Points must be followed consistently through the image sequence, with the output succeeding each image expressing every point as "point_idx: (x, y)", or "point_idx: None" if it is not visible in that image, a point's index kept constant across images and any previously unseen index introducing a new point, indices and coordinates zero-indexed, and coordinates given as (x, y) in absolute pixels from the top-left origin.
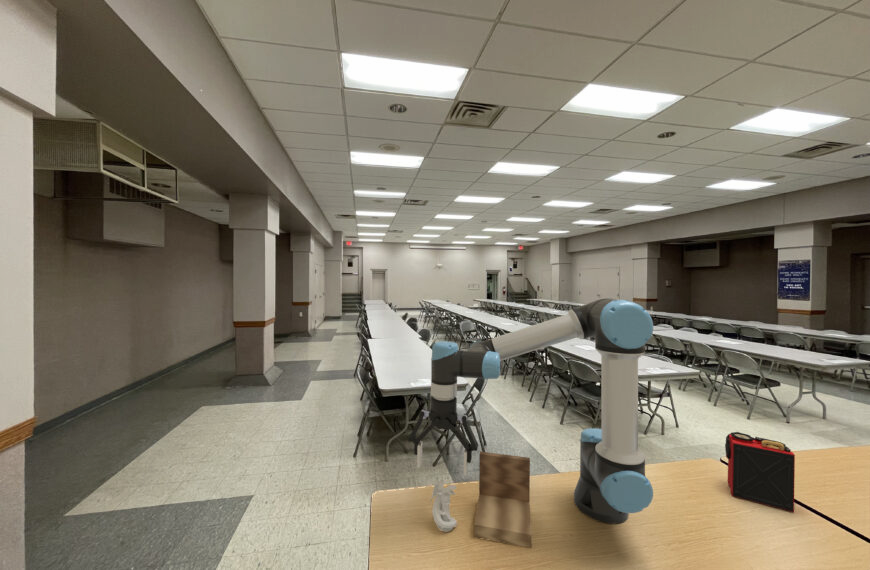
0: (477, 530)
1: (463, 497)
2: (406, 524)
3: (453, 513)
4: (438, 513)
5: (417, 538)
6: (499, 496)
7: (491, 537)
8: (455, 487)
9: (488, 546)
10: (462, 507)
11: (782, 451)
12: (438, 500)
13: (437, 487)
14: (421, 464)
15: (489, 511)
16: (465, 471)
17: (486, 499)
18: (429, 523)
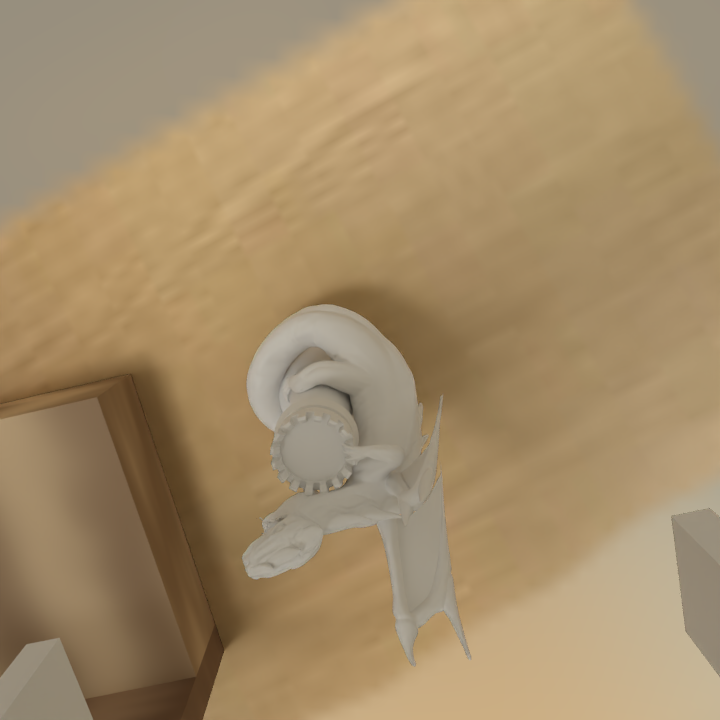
0: (91, 392)
1: (330, 646)
2: (559, 275)
3: None
4: (351, 359)
5: (436, 202)
6: None
7: (21, 402)
8: (247, 560)
9: (28, 348)
10: None
11: None
12: (382, 434)
13: (405, 489)
14: (682, 603)
15: (62, 554)
16: (6, 684)
17: (129, 649)
18: (425, 352)
